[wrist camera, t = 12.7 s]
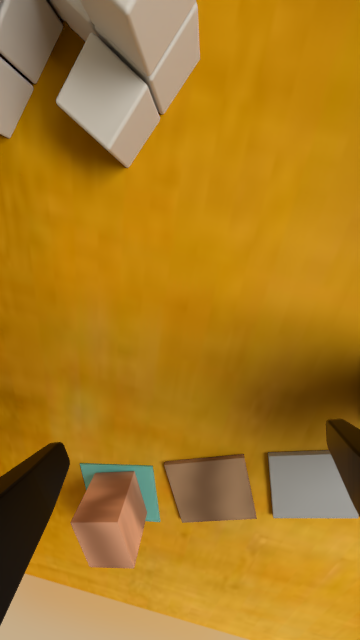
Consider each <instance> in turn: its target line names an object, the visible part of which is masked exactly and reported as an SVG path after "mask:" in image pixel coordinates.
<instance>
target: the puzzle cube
mask: <svg viewBox="0 0 360 640" xmlns="http://www.w3.org/2000/svg"><path fill="white" fill-rule="evenodd" d="M55 13H56V14H57V15H58V16H59V17H60V18H61V19H62V20H63V21H66V22H67V23H68V25H69V26H70V28H72V29H73V30H74V31H75V32H76V33H77V34H78V35H79V36H80V37H81V38H82V39H83V40H84V41H85V44H84V46H83V48H82V50H81V52H80V54H79V56H78V58H77V60H76V62H75V63H74V65H73V67H72V69H71V71H70V73H69V75H68V77H67V79H66V81H65V83H64V85H63V87H62V89H61V91H60V93H59V95H58V97H57V99H56V103H57V105H58V106H59V107H60V108H61V109H62V110H63V111H64V112H65V113H67V114H68V115H69V116H70V117H71V118H72V119H73V120H74V121H75V122H76V123H78V124H79V125H80V126H81V127H82V128H83V129H84V130H85V131H86V132H87V133H88V134H90V135H91V136H92V137H93V138H94V139H95V140H96V141H97V142H98V143H99V144H101V145H102V146H103V147H104V148H105V149H106V150H107V151H108V152H109V153H110V154H112V155H113V156H114V157H115V158H116V159H117V160H118V161H119V162H120V163H121V164H123V165H124V166H125V167H126V168H128V167H129V166H130V165H131V163H132V162H133V160H134V159H135V157H136V156H137V154H138V153H139V151H140V150H141V148H142V147H143V145H144V144H145V142H146V141H147V139H148V137H149V136H150V134H151V133H152V131H153V130H154V128H155V127H156V125H157V124H158V122H159V121H160V116H159V114H158V112H159V113H160V114H164V113H165V112H166V110H167V109H168V107H169V105H170V104H171V102H172V101H173V99H174V98H175V96H176V95H177V93H178V92H179V90H180V89H181V87H182V86H183V84H184V83H185V81H186V80H187V78H188V76H189V75H190V73H191V72H192V70H193V69H194V67H195V66H196V64H197V63H198V61H199V59H200V49H199V28H198V8H197V3H196V0H0V54H2V55H3V56H4V57H5V58H6V59H7V60H8V61H9V62H10V63H11V64H13V65H14V66H15V67H16V68H17V69H18V70H19V71H20V72H21V73H22V74H24V75H25V76H26V77H27V78H28V79H29V80H30V81H31V82H32V83H34V84H36V83H37V81H38V79H39V77H40V75H41V73H42V71H43V69H44V67H45V65H46V62H47V60H48V58H49V56H50V54H51V52H52V50H53V48H54V46H55V44H56V42H57V39H58V37H59V35H60V33H61V31H62V29H63V24H62V23H61V21H60V20H59V18H58V17H57V15H56V14H55ZM32 92H33V86H32V85H31V84H30V83H29V82H28V81H27V80H26V79H24V78H23V77H22V76H21V75H20V74H19V73H18V72H17V71H16V70H15V69H13V68H12V67H11V66H10V65H9V64H8V63H7V62H6V61H5V60H4V59H2V58H1V57H0V134H1V135H3V136H5V137H7V138H10V137H11V136H12V133H13V131H14V129H15V127H16V125H17V123H18V121H19V119H20V117H21V115H22V113H23V110H24V108H25V106H26V104H27V102H28V100H29V98H30V96H31V94H32Z"/></svg>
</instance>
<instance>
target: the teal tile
mask: <svg viewBox="0 0 360 640" xmlns="http://www.w3.org/2000/svg"><path fill="white" fill-rule="evenodd" d="M80 467H81V471H82V475H83V479H84V483H85V487H86V490H87V488H88V486H89V484H90V482H91V480H92V478H93V476H94V474H95V473H103V472H127V471H135V474H136V478H137V481H138V484H139V487H140V491H141V494H142V497H143V500H144V504H145V507H146V510H147V516H146V520H145V521H153V522H160V515H159V508H158V501H157V493H156V486H155V479H154V472H153V466H147V465H119V464H90V463H80Z"/></svg>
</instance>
